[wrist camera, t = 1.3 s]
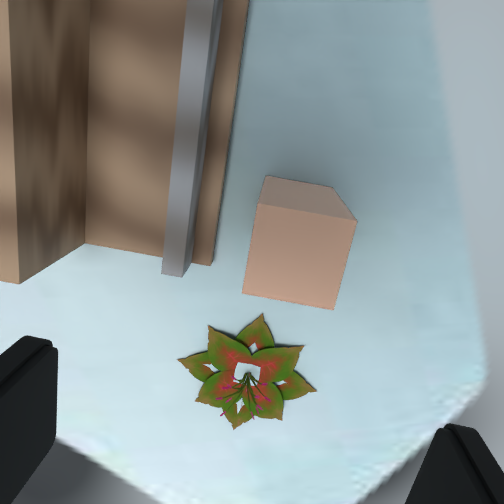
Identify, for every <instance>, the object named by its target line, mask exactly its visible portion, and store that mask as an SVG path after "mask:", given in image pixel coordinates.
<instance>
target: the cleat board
mask: <svg viewBox="0 0 504 504" xmlns="http://www.w3.org/2000/svg"><path fill="white" fill-rule="evenodd" d="M249 1H250V0H0V281H4V282H9V283H15V284H21V283H22V282H24V281H26V280H27V279H29V278H30V277H32V276H34V275H35V274H37V273H38V272H40V271H42V270H43V269H45V268H46V267H48V266H49V265H51V264H53V263H54V262H56V261H57V260H59V259H61V258H62V257H64V256H65V255H67V254H69V253H70V252H72V251H73V250H75V249H77V248H78V247H80V246H81V245H83V244H84V243H87V244H92V245H98V246H103V247H109V248H114V249H120V250H125V251H131V252H136V253H141V254H147V255H152V256H158V257H163V261H162V271H161V274H165V275H171V276H176V277H183V275H184V274H185V272H186V271H187V269H188V267H189V266H190V264H191V263H196V264H201V265H207V266H211V264H212V262H213V255H214V248H215V241H216V234H217V227H218V220H219V213H220V206H221V198H222V191H223V184H224V177H225V170H226V163H227V156H228V149H229V142H230V135H231V128H232V121H233V114H234V107H235V100H236V93H237V86H238V79H239V71H240V64H241V57H242V50H243V43H244V36H245V29H246V22H247V15H248V8H249Z"/></svg>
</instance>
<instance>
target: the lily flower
mask: <svg viewBox="0 0 504 504" xmlns="http://www.w3.org/2000/svg"><path fill="white" fill-rule="evenodd" d="M263 320H264V318H263V314H261V315H260V317H259V318H257V319H256V320H255V321H254V322H253V323H252V325H248V326H247V327H246V328H245V329H244V330H243V331H241V332H240V334H239V335H238V336H237V337H236V339H235V340H233V339H231V338H229V337H227V336H226V335H224V334H222V333H220V332H217V331H214V329H213V328H211V327H210V326H208V329H209V334H208V339H209V343H208V352H204V353H200V354H196V355H193V356H190V357H187V358H186V359H178V361H179V362H181V363H182V364H183V365H184V366H185V367H186V368H187V369H189V372H190V373H191V374H192V375H193V376H194V377H195V378H197V379H199V380H200V381H202V382H205V383H204V384H203V386H202V388H201V390H200V392H199V395H198V396H199V398H197V399H196V400H195V402H201V403H204V404H209V405H210V406H213V407H218V408H220V407H222V409H223V412H224V413H222V414H221V415H220V416H222V415H223V414H225V416H226V418H227V419H228V421H229V422H231V423H232V424H233V425H232V427H233V430H234V429H235V428H236V427H238V426H240V425H241V424H242V423H243V422H244V423H245V422H247V421H249V420H250V419H251V418H252V417H253V416H254V415H256V416H258V417H260V418H268V419H273V418H277V419H278V420H282V418H281V417H282V411H283V400H292V399H296V398H299V397H301V396H304V395H306V394H307V393H308V392H316V390H315V389H313V388H312V387H311V386H310V385H309V384H307V383H306V381H305V380H304V379H303V378H302V377H300V376H299V375H298V374H297V373H295V372H294V371H293V370H294V368H295V366H296V363H297V360H298V358H299V352H301V350H302V349H303V347H304V346H300V347H290V348H287V347H281V348H274V341H273V338H272V336H271V333H270V331H269V329H268V327H267V325H266V324H265V322H263ZM253 343H256V346H257V348H258V352H256V353H254V354H253V355H252V356H251V353H250V352H249V350H248V349H247V348H248V347H250V346H251V345H252V344H253ZM238 362H241V363H247V364H253V365H256V366H259V367H261V369H260V377H259V381H258V380H256V379H255V378H254V377H253V376H252V375H251V372H250V373H245V374H244V377H243V379H242V380H237V379H236V378H234V372H235V368H236V365H237V363H238ZM211 363H212V365H213V366H214V367H215V368H217V369H218V370H220V371H221V372H218V373H214V372H213V371H211V369H210V368H209V367H207V366H205V365H203V364H211ZM246 375H247V378H246ZM249 377H250V379H251V380H252V382H253V384H254V385H255V386H251V384H250V379H249ZM233 379H234V380H237V381H239V382H240V383H236V382H233ZM245 379H246V381H245ZM253 380H254V381H256V382H257V383H258V384H257V385H256V384H255V382H254V381H253ZM282 380H284V381H285V382H287V383H283V384H282V385H277V386H275V385H274V384H273V383H272V382H279V381H282ZM242 382H243V383H242ZM244 382H245V383H244ZM241 383H242V384H241ZM241 397H242V398H243V400H242V401H243V402H244V404H245V405H243V406H242V405H241V406H242V408H241V409H240V411H239V413H238V414H237V404H236V402H238V401H239V400H240V399H241ZM253 419H254V417H253Z"/></svg>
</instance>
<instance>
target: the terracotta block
mask: <svg viewBox="0 0 504 504" xmlns="http://www.w3.org/2000/svg"><path fill="white" fill-rule="evenodd" d="M356 224H357V220H356V219H355V217H354V216H353V215H352V213H351V212H350V211H349V209H348V208H347V206H346V205H345V204H344V202H343V201H342V200H341V198H340V197H339V196H338V194H337V193H336V192H335V190H334V189H333V187H327V186H322V185H316V184H311V183H305V182H300V181H294V180H288V179H283V178H277V177H272V176H265V180H264V183H263V186H262V190H261V193H260V196H259V200H258V203H257V209H256V215H255V220H254V226H253V232H252V238H251V243H250V249H249V255H248V261H247V266H246V272H245V278H244V284H243V289H242V294H248V295H253V296H259V297H264V298H270V299H275V300H280V301H286V302H291V303H297V304H302V305H308V306H313V307H318V308H324V309H329V310H334V307H335V303H336V299H337V295H338V292H339V288H340V284H341V280H342V277H343V273H344V269H345V266H346V262H347V258H348V254H349V251H350V247H351V243H352V239H353V236H354V232H355V228H356Z"/></svg>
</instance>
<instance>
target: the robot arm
mask: <svg viewBox="0 0 504 504" xmlns="http://www.w3.org/2000/svg"><path fill="white" fill-rule="evenodd" d="M57 378H58V350H57V348H54V347H53V345H52V342H51V341H50V340H47V339H42V338H37V337H32V336H24V337H22V338H20V339H19V340H18V341H17V342H16V343H14V344H13V345H12V346H11V347H9V348H8V349H7V350H6V351H5V352H3V353H2V354H1V355H0V504H11V503H12V502H13V500H14V499H15V498H16V496H17V495H18V493H19V492H20V491H21V489H22V488H23V487H24V485H25V484H26V482H27V481H28V480H29V478H30V477H31V475H32V474H33V473H34V471H35V470H36V468H37V467H38V466H39V464H40V463H41V461H42V460H43V458H44V457H45V456H46V455H47V453H48V452H49V450H50V449H51V447H52V445H53V443H54V440H55V437H56V418H57ZM405 504H504V473H503V471H502V470H501V468H500V466H499V465H498V463H497V461H496V460H495V458H494V457H493V455H492V454H491V452H490V450H489V449H488V447H487V446H486V444H485V442H484V441H483V439H482V438H481V436H480V435H479V433H478V432H477V431H476V430H475V429H473V428H470V427H465V426H460V425H456V424H451V423H449V424H446V425H445V426H444V428H439V429H438V430H437V431H436V433H435V435H434V438H433V440H432V442H431V445H430V447H429V449H428V451H427V454H426V456H425V458H424V461H423V463H422V465H421V468H420V470H419V472H418V475H417V477H416V479H415V481H414V484H413V486H412V489H411V491H410V493H409V495H408V497H407V500H406V502H405Z"/></svg>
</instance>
